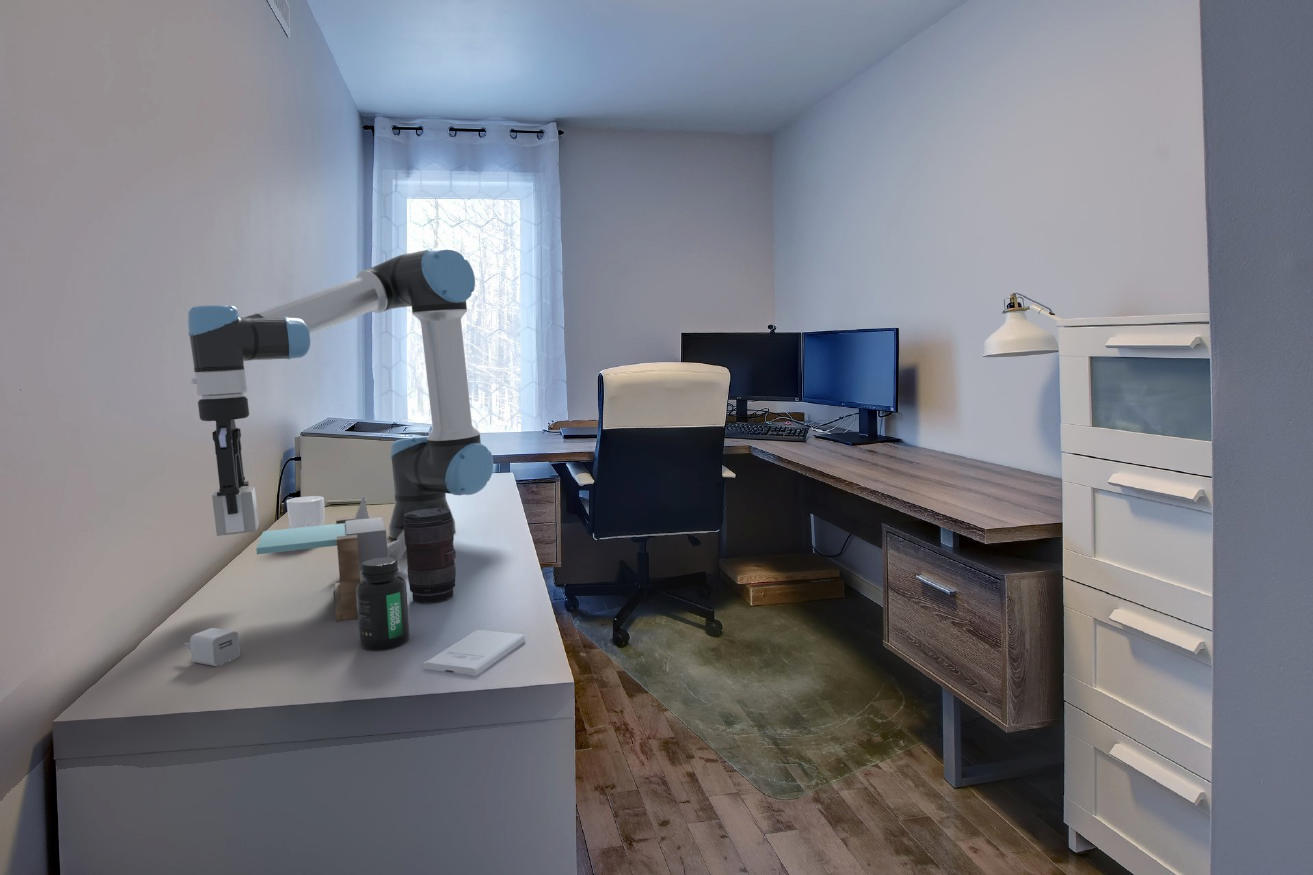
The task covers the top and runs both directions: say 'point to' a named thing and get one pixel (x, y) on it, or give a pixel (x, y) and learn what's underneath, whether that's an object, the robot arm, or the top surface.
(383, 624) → the supplement bottle
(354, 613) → the stand
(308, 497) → the white cup
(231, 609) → the top surface
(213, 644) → the usb wall charger
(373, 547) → the trapdoor
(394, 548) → the crystal
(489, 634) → the external hard drive
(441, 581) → the camera lens
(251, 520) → the plain grey cube
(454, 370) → the robot arm
